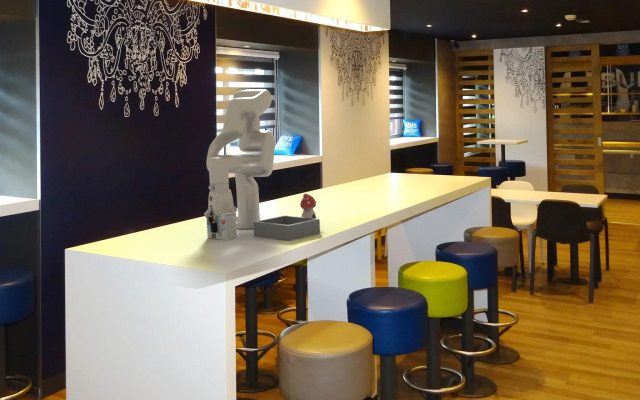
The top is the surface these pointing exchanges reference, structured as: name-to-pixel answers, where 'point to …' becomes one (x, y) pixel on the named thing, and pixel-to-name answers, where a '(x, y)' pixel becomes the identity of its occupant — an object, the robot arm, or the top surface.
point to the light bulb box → (224, 226)
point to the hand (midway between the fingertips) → (222, 230)
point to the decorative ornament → (308, 206)
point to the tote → (286, 227)
